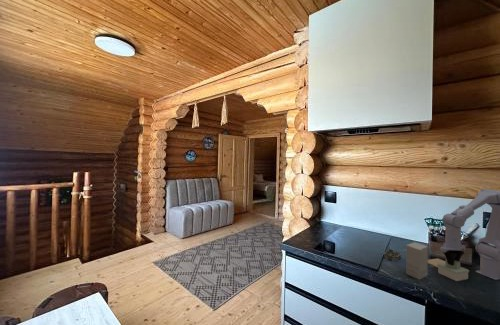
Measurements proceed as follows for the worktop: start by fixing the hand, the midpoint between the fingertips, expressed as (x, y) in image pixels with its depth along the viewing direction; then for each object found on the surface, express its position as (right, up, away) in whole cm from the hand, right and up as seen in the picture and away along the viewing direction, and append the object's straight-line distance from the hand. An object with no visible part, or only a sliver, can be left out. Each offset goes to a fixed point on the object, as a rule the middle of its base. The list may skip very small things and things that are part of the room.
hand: (452, 264), depth 107 cm
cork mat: (+4, -6, +11) cm, 14 cm away
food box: (0, -6, 0) cm, 6 cm away
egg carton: (-17, -6, +20) cm, 27 cm away
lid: (0, -2, 0) cm, 2 cm away
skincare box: (-18, -6, +1) cm, 19 cm away
